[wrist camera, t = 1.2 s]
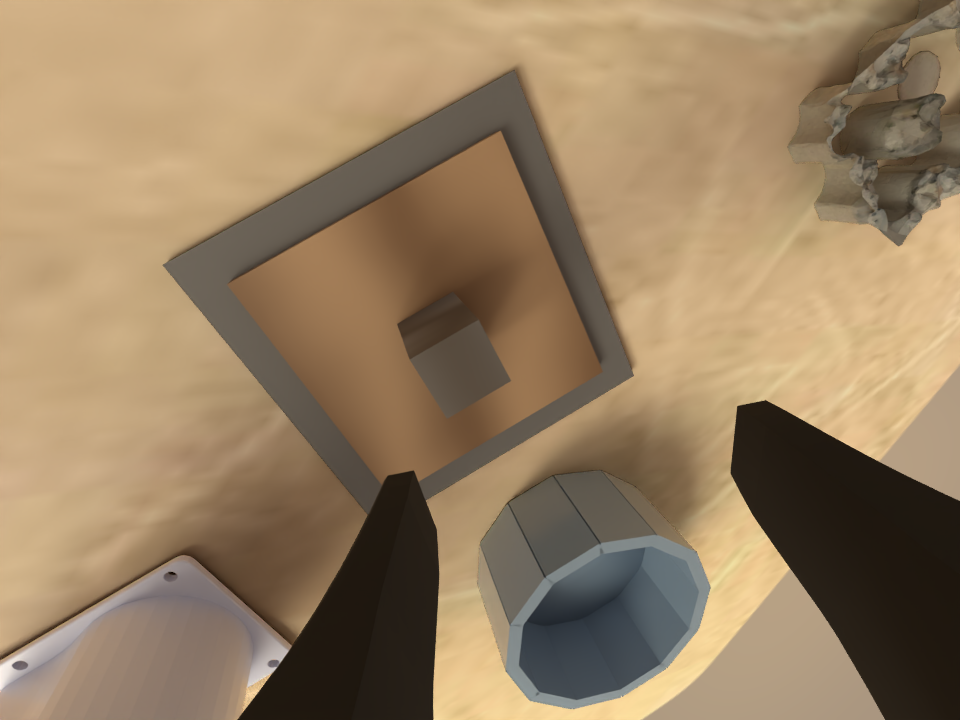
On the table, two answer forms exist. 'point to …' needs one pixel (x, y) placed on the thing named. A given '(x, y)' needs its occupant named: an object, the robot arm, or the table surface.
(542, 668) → the bowl
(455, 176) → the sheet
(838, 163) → the grey lumpy curved piece
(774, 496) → the robot arm
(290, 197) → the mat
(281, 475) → the table surface
